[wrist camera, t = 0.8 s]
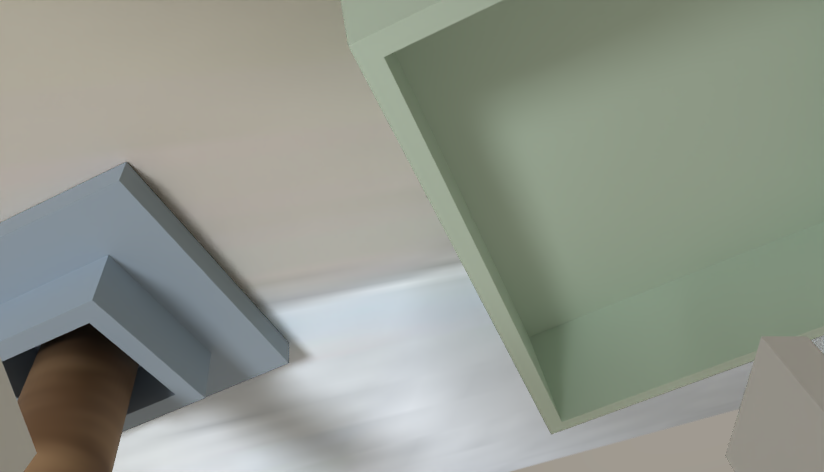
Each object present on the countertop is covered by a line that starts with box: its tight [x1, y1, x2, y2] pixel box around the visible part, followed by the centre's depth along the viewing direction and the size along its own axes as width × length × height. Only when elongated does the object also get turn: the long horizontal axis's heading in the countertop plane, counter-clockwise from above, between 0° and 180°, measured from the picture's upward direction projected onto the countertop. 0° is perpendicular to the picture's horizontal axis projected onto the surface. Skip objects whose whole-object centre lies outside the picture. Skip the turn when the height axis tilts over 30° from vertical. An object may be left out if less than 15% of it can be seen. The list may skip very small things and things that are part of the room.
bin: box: [341, 0, 824, 434], centre depth 27 cm, size 24×22×7 cm
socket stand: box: [0, 162, 289, 432], centre depth 31 cm, size 14×14×4 cm
